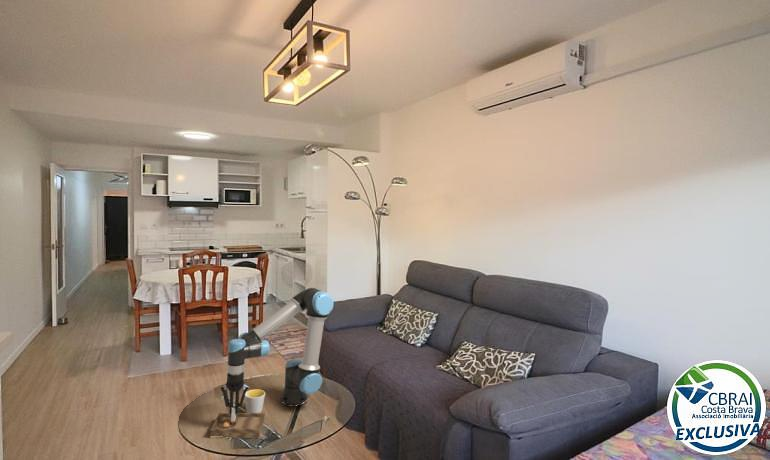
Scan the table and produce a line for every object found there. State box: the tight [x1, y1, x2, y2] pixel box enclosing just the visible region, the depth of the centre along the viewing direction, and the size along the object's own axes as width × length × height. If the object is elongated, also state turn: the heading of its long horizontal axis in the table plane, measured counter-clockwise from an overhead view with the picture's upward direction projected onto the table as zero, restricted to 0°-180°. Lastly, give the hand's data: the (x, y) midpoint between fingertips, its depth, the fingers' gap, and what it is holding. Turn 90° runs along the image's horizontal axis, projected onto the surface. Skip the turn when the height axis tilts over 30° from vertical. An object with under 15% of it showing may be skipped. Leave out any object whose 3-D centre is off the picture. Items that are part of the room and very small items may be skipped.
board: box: [209, 412, 266, 439], centre depth 203 cm, size 22×16×4 cm
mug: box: [244, 389, 266, 413], centre depth 221 cm, size 14×10×10 cm
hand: (233, 420), depth 202 cm, fingers closed
